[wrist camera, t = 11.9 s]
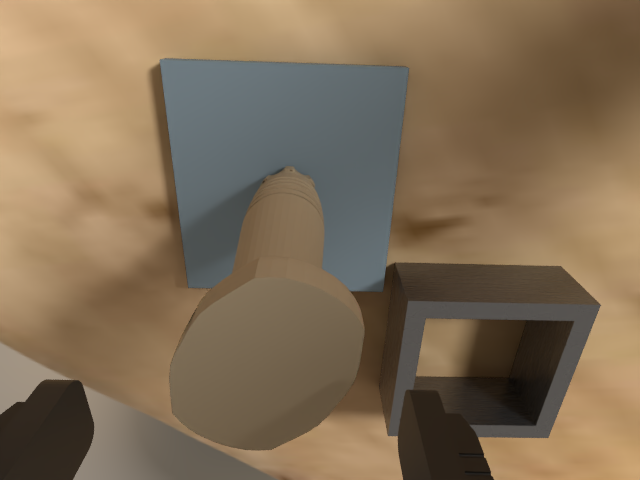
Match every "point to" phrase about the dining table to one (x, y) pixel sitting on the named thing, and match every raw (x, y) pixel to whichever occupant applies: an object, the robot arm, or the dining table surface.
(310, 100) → the rubber mat
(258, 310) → the handle
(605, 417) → the dining table surface
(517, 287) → the socket block
